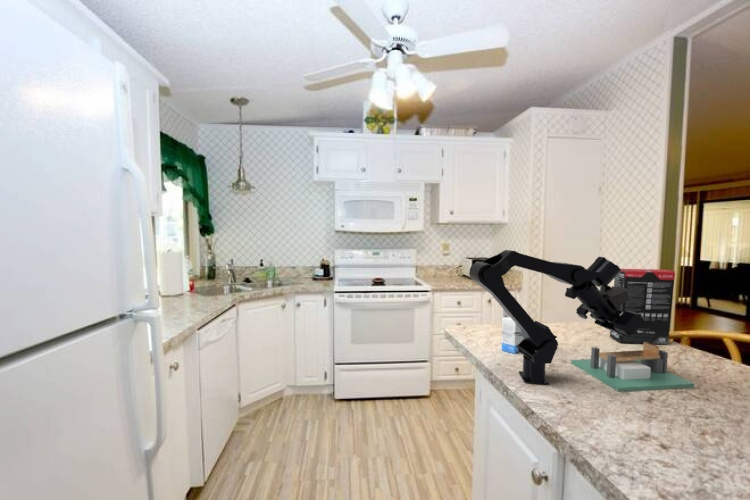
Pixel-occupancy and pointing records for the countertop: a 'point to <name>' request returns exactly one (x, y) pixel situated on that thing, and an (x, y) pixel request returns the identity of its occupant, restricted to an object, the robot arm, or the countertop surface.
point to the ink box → (510, 334)
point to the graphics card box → (647, 303)
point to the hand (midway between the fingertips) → (625, 335)
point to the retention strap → (635, 353)
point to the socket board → (635, 383)
